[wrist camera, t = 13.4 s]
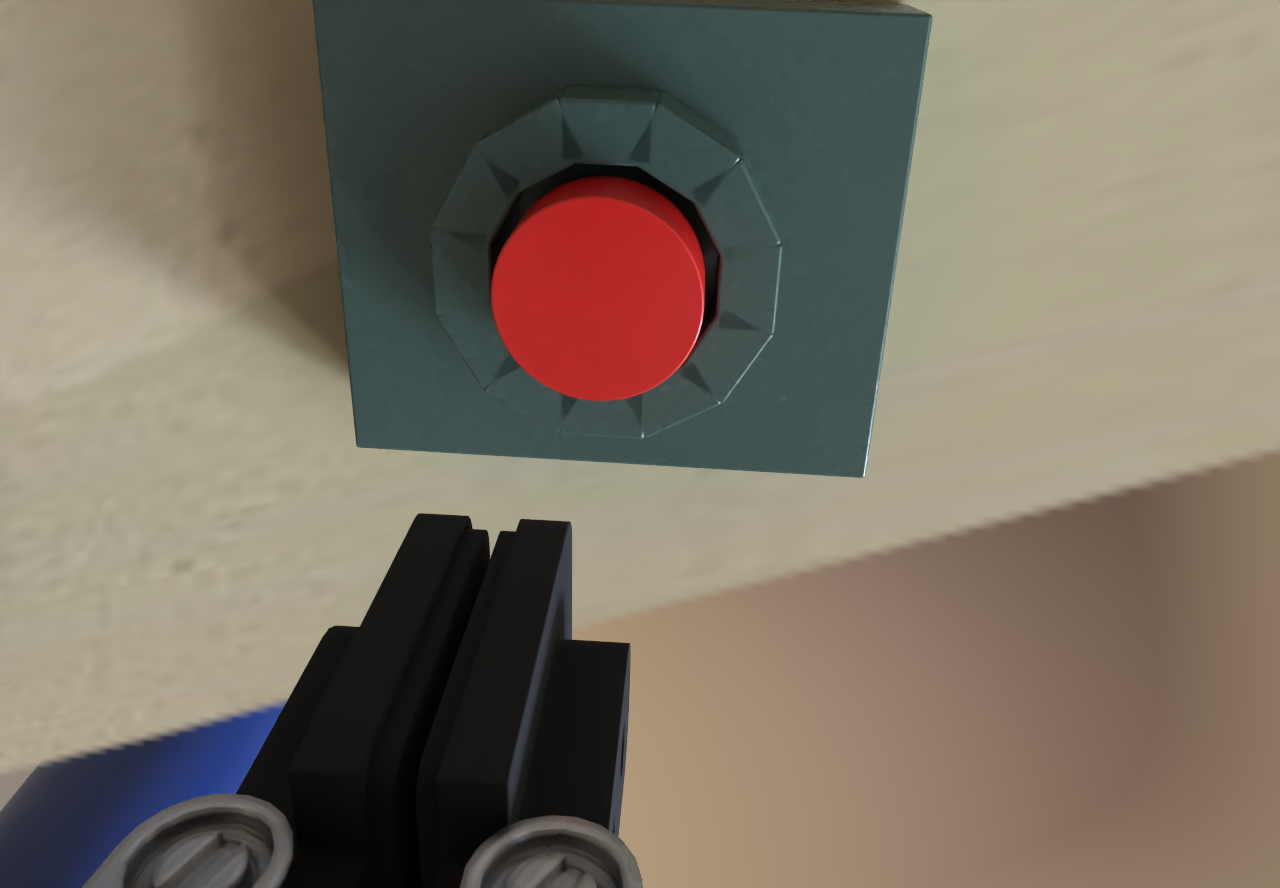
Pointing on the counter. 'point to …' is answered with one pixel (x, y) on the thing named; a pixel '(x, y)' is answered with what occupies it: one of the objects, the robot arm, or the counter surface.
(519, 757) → the robot arm
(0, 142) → the counter surface
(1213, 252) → the counter surface
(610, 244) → the button
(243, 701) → the counter surface
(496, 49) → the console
